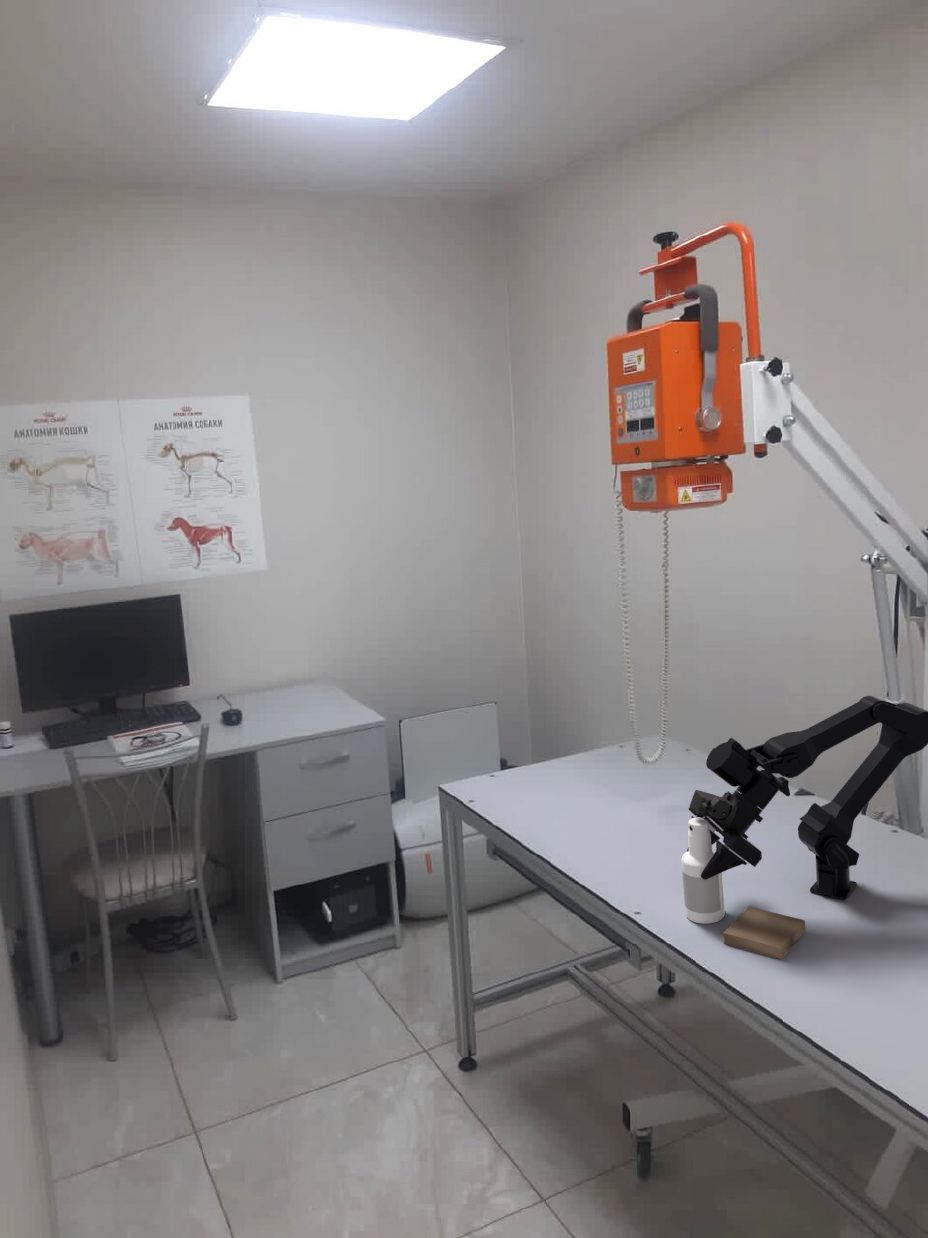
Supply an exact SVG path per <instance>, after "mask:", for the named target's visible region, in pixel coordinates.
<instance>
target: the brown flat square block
mask: <svg viewBox="0 0 928 1238" xmlns="http://www.w3.org/2000/svg"><path fill="white" fill-rule="evenodd" d="M805 932H806V921H805V920H804V919H800V918H797V917H794V916H790V915H785V914H781V913H777V912H772V911H769V910H765V909H761V908H756V907H753V906H747V908H745V910H744V911H743V912H741V914H740V915H739V916H738V917H737V918H736V919H735V920H734V921H732V923H731V924H730V925H729V926H728V927H727V928H726V930H724V932H723V943H724V945H728V946H731V947H735V948H740V949H742V950H746V951H750V952H753V953H757V954H761V955H764V956H767V957H770V958H771V957H772V958H775V959H779V960H781V961H782V960H783V959H784V957H785V956H786V955H787V954H788V953H789V951H790V950H791V949H792V948H793V946H794V945H795V944H796V943H797V941H798V940H799V939H800V938H801V937H802V936H803V934H804V933H805Z"/></svg>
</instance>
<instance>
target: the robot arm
mask: <svg viewBox="0 0 928 1238" xmlns="http://www.w3.org/2000/svg"><path fill="white" fill-rule="evenodd" d="M879 723H880V724H882V730H881V736H880V740H879V741H878V743H877V744H876V745H875V746H874V748H873V749H872V750H871V751H870V752H869V754H868V755H867V756H866V758H865V759H864V760H863V761H862V763H861V764H859V766H858V767H857V769H856V770H855V771H854V773H853V774H852V775H851V776H850V777H849V779H848V780H847V781H846V783H844V785H843V786H842V787H841V789H839V791H838V792H837V794H836V795H835V796H834V797H833V798H832V799H831V801H829V802H828V803H826V804H823V805H819V804H818V803H816V802H813V804H811V805H810V807H809V808H808V810H807V812H806V813H805V814H804V815H803V816H801V817H800V818H799V820H800V823H799V824H798V827H797V835H798V839H799V841H801V843H802V844H803V845H805V847H807V849H808V851H810V852H812V853H813V854H814V855H815V873H816V874H815V875H816V880H815V882H814V883H813V884H812V885H811V886H810V888H809V892H811V893H814V894H817V895H822V896H827V897H830V898H836V899H839V900H847V898H848V897H849V896H850V894H851V893H852V892H853V890H855V889H856V887H858V886H857V885H858V883H857V881H854V880H851V877H850V876H851V874H850V871H851V870H850V868H851V867H852V866H853V867H854V866H857V864H858V861H859V857H860V853H859V852H857V851H856V850H855V849H853V848H852V847H851V846H850V845H848V843H849V841H850V840H851V839H852V834H853V827H854V822H855V820H856V819H857V817H858V816H859V815H860V813H861V812H862V811H863V809H864V808H865V807H866V806H867V805H868V804H869V803H870V801H871V799H873V797H874V796H875V795H876V794H877V792H878V791H879V790H880V788H881V787H882V786H883V785H884V783H885V782H886V781H887V780H888V779H889V778H890V776H892V774H893V772H894V771H895V770H896V769H897V768H898V766H900V764H901V763H902V762H903V760H904V759H905V758H907V757H909V756H911V755H913V754H915V753H916V754H917V752H921V751H922V750H923V749H924V748H925V747H926V746H928V710H926V709H924V708H922V707H919V706H916V705H915V704H913V703H909V702H902V703H897V704H895V703H893V702H890V701H887V700H883V699H879V698H877V697H875V696H874V695H865V696H863V697H862V698H860V700H858V701H857V702H856V703H853V704H851V705H850V706H847V707H846V708H844V709H842V710H840V711H839V712H836V713H834V714H833V715H831V716H829V717H827V718H826V719H825V718H824V720H821V721H820V722H818V723H816V724H813V725H812V726H810V727H808V728H806V729H803V730H799V731H790V732H785V733H782V734H779V735H775V736H773V737H770V738H768V740H766V741H765V742H764V743H762V744H759V745H756V746H754V747H751V748H747V749H745V747H743V745H742V744H741V743H740V742H738V741H737V740H736V739H734V738H733V737H730V738H729V739H728V740H727V741H726V742H723V743H720V744H718V745H716V747H713V748H712V749H711V750H710V752H709V753H708V755H707V758H706V763H705V764H706V767H707V769H708V770H709V771H711V772H712V773H713V774H715V775H716V776H718V777H719V778H720V779H721V780H723V781H724V782H725V783H727V785H729V786H731V787H733V788H736V787H737V788H736V789H735V790H734V791H733V792H732V793H731V792H730V791H729V790H728V791H727V792H726V791H725V792H724V794H723V795H722V796H719V795H717V794H713V793H709V792H706V791H703V790H702V791H701V790H700V789H699V790H698V789H695V790H694V793H693V796H692V797H691V798H692V799H691V801H690V804H689V807H688V808H687V810H688V811H689V812H690V813H691V814H692V815H691V817H690V819H692V818H697V817H700V818H702V819H704V820H706V821H708V823H709V831H710V833H711V843H712V846H714V844H715V846H716V847H715V848H716V850H715V853H714V855H713V856H712V858H711V859H710V861H709V862H708V864H707V865H706V867H705V868H704V870H703V872H702V874H701V878H703V879H704V880H707V879H709V878H711V877H713V876H715V875H717V874H720V873H722V874H723V873H725V872H726V871H728V870H731V869H733V868H736V867H738V866H741V865H744V866H747V865H748V864H750V865H751V866H752V867H754V868H756V867H757V866H758V864H759V863H761V860H762V859H763V857H762V851H761V849H759V848H758V847H757V846H756V845H754V844H753V843H752V842H751V841H750V840H748V838H749V835H747V834H746V833H747V831H748V830H749V829H750V827H751V826H752V825H753V824H754V823H755V822H756V821H757V822H758V823H759V824H760V823H761V822H762V821H763V820H764V818H763V817H762V816H761V814H762V813H763V811H764V810H765V809H766V807H767V806H768V805H769V804H770V802H771V801H772V800H773V799H774V797H775V796H776V795H777V793H778V792H781V793H782V794H783V795H785V797H790V796H791V792H790V791H791V790H790V787H789V783H790V782H789V780H788V779H794V778H797V777H798V776H800V775H801V774H802V773H804V772H805V771H806V770H808V769H809V768H810V767H812V766H813V765H814V764H815V762H816V760H817V759H818V757H819V756H821V754H823V753H825V752H826V751H828V750H830V749H832V748H833V747H835V746H838V745H839V744H842V743H843V742H845V741H847V740H848V739H850V738H852V737H855V736H856V735H858V734H860V733H862V732H863V731H866V730H868V729H870V728H872V727H874V726H875V725H877V724H879ZM758 767H760V768H761V769H760V770H759V769H758ZM775 774H778V775H780V777H779V776H776V775H775ZM787 778H788V779H787ZM693 815H694V816H693ZM716 832H717V833H719V834H720V835H721V836H722V837H723V838H722V842H721V841H720V839H721V837H720V836H719V835H718V834H717V833H716ZM688 851H689V848H688V847H687V849H686V852H688Z"/></svg>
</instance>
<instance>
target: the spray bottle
mask: <svg viewBox="0 0 928 1238" xmlns="http://www.w3.org/2000/svg"><path fill="white" fill-rule="evenodd" d="M687 840H688V845H687V846H688V847H687V849H688V848H689V851H688V852H687V851H686V852H684V854H682V856H681V861H680V863H681V871H682V874H681V875H682V887H683V897H684V898H683V899H684V910H685V916H686V918H687V919H688V920H690V921H691V922H694V923H697V924H701V925H707V924H715V923H718V922H720V921H721V920H722V919H724V916H725V913H726V912H725V897H724V883H723V872H722V873H720V874H717V875H715V876H713V877H711V878H709V879H707V880H704V879H703V878H701V874H702V872H703V870H704V868H705V867H706V865H707V864H708V862H709V861H710V859H711V858H712V856H713V855H714V853H715V852H716V850H713V845H712V843H711V833H710V831H709V823H708V821H706V820H704V819H702V818H700V817H697V818H692V819H691V818H690V819H689V820H688V832H687Z"/></svg>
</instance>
